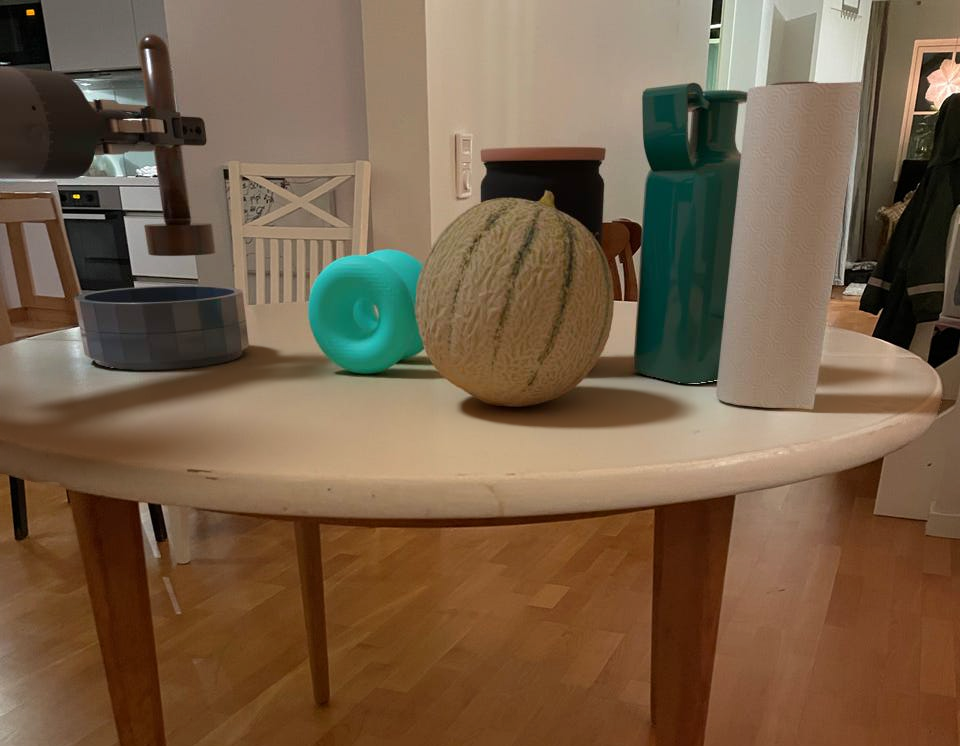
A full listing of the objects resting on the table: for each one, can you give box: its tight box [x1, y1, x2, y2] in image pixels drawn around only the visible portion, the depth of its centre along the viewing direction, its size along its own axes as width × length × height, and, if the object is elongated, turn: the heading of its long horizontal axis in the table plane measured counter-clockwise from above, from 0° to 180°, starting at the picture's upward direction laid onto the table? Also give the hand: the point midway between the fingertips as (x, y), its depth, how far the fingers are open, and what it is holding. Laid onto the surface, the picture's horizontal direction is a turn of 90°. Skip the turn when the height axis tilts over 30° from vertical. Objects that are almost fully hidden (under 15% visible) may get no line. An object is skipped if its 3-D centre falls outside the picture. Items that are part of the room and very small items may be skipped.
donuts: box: [307, 249, 425, 375], centre depth 84 cm, size 10×10×10 cm
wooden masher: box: [138, 33, 216, 257], centre depth 82 cm, size 6×6×17 cm
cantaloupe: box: [415, 190, 615, 408], centre depth 68 cm, size 15×15×15 cm
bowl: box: [73, 285, 250, 371], centre depth 91 cm, size 16×16×6 cm
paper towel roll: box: [715, 81, 864, 410], centre depth 67 cm, size 7×6×21 cm
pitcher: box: [632, 82, 748, 383], centre depth 77 cm, size 10×8×22 cm
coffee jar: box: [480, 146, 607, 248], centre depth 82 cm, size 11×11×18 cm
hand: (190, 132), depth 83 cm, fingers closed on wooden masher, 2 cm apart
